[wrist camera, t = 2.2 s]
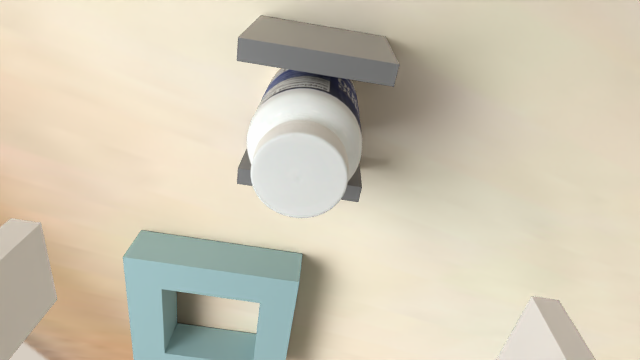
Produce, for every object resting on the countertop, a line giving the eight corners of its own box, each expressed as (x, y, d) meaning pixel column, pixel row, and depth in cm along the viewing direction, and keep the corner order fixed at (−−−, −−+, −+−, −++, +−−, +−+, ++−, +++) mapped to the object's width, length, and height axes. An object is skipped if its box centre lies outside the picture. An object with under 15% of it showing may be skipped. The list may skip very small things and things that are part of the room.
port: (141, 230, 31) (118, 262, 28) (302, 253, 31) (298, 288, 28) (149, 338, 37) (131, 375, 34) (284, 356, 37) (279, 395, 34)
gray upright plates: (260, 15, 23) (238, 37, 18) (385, 36, 23) (399, 64, 18) (249, 152, 27) (229, 202, 22) (355, 168, 27) (359, 222, 22)
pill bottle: (360, 135, 26) (370, 228, 18) (276, 143, 27) (247, 236, 18) (353, 48, 24) (362, 108, 15) (260, 58, 24) (218, 122, 16)
